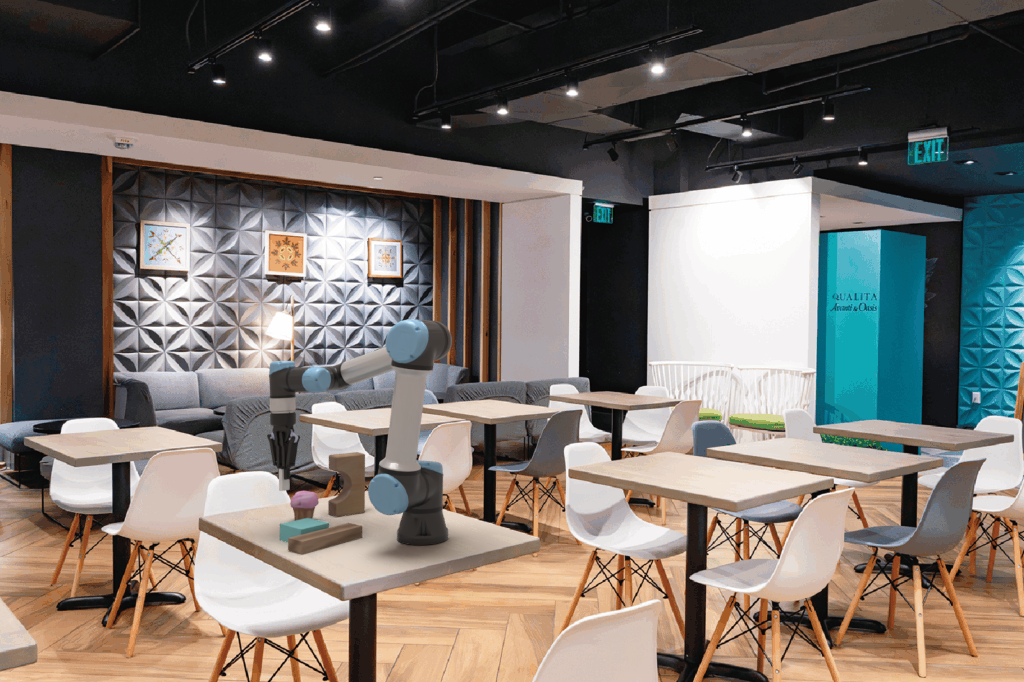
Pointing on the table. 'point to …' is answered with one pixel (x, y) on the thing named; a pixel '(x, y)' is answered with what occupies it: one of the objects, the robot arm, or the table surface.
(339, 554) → the table surface
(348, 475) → the decorative block
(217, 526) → the table surface
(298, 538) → the walnut board
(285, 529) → the teal block
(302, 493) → the cupcake
